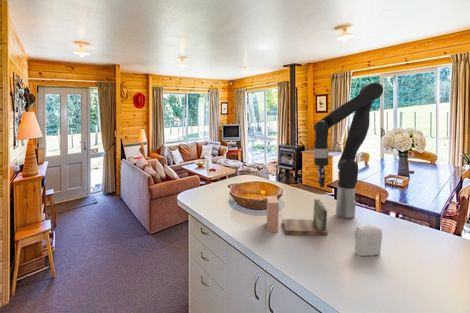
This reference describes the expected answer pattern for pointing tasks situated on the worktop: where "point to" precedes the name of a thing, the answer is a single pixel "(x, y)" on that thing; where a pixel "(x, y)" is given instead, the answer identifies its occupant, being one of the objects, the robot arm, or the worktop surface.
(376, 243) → the photo printer
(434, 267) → the worktop surface
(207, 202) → the worktop surface
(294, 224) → the shelf ledge
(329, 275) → the worktop surface
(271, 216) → the terracotta book
